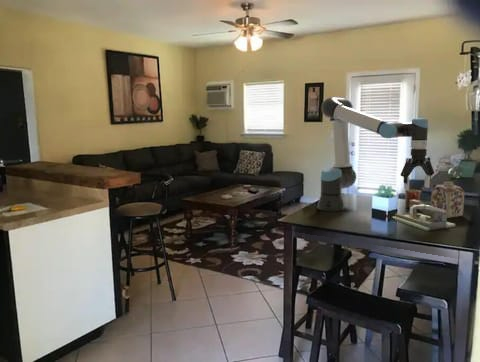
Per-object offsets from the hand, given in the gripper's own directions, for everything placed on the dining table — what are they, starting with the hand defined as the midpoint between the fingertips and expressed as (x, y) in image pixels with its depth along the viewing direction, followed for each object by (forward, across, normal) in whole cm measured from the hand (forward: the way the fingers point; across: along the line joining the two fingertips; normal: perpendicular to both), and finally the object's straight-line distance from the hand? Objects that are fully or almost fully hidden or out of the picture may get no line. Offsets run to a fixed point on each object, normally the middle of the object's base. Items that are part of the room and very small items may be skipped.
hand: (416, 188), depth 204 cm
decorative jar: (+16, +19, -3) cm, 25 cm away
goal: (+16, -7, -18) cm, 25 cm away
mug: (+16, +13, +15) cm, 25 cm away
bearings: (+16, 0, -15) cm, 22 cm away
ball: (+13, -7, -12) cm, 19 cm away
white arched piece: (+14, -3, -8) cm, 16 cm away
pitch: (+16, -5, -10) cm, 19 cm away
